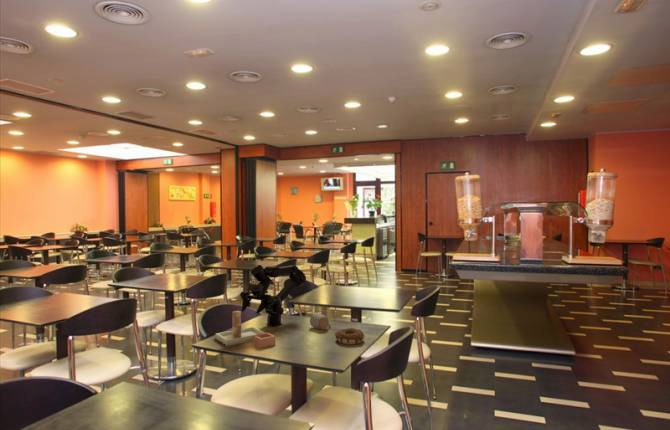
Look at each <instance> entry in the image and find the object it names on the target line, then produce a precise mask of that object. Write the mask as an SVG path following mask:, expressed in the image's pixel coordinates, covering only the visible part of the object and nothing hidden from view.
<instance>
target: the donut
mask: <svg viewBox="0 0 670 430" xmlns="http://www.w3.org/2000/svg"><path fill="white" fill-rule="evenodd" d="M334 336H335V340H337V342H338V343H340V344H343V345H358V344H361V343H362V342H363V341H364V340H365V334H364V332H363V330H361V329H358V328H354V327H353V328H352V327H349V328H343V329H342V328H341V329H339V330H337V331H336V332H335V333H334Z"/></svg>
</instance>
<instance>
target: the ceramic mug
mask: <svg viewBox="0 0 670 430" xmlns="http://www.w3.org/2000/svg"><path fill="white" fill-rule="evenodd" d="M309 324H310V327H312V328H315V329H318V330H322V331H323V330H326V329H327V328H328V327H329V328H330V327H331V326H332V324H331V323H330V320H329V318H328V317H327V316H325V315H323V314H321V313H319V312H314V313H312V314H311V316H310V318H309Z"/></svg>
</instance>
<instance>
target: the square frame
mask: <svg viewBox="0 0 670 430" xmlns="http://www.w3.org/2000/svg"><path fill="white" fill-rule="evenodd" d="M252 344H253V345H255V346H257V347H258V348H260V349H262V348H266V347H272V346H276V336H275V334H274V335H273V334H272V333H270V332H265V333H262V334H257V335H253V341H252Z"/></svg>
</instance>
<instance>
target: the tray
mask: <svg viewBox="0 0 670 430" xmlns="http://www.w3.org/2000/svg"><path fill="white" fill-rule="evenodd" d="M262 333H266V332H265V331H263V330H261V329H259V328H256V327H255V326H251V327H250V326H249V327H244V328H241V338H235V339H233V329H232V330H227V331H222V332H216V333H215V339H216V341H219V342H220V343H221V342H222V343H221V344H223V345H224V344H225V346H226V347H230V346H235V345H239V344H246V343H249V342H253V335H257V334H262Z"/></svg>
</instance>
